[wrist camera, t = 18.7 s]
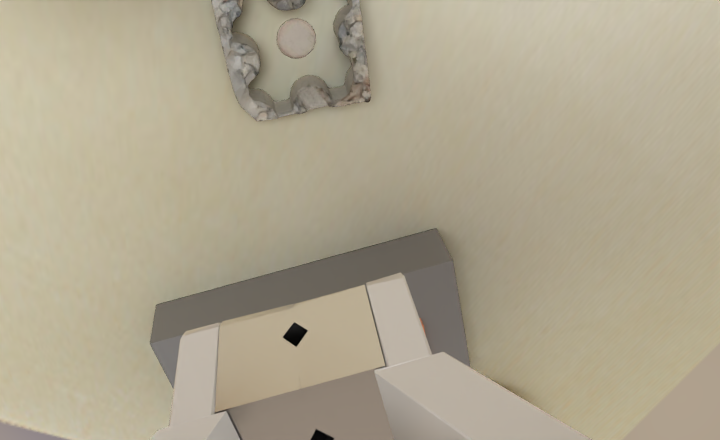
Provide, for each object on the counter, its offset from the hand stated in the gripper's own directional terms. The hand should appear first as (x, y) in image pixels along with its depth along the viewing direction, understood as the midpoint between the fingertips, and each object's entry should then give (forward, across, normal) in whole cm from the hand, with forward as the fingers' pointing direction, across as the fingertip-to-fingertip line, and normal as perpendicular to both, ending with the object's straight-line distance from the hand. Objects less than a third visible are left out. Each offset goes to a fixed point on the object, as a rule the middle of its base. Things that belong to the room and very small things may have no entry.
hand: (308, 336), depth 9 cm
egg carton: (+31, 0, +3) cm, 31 cm away
